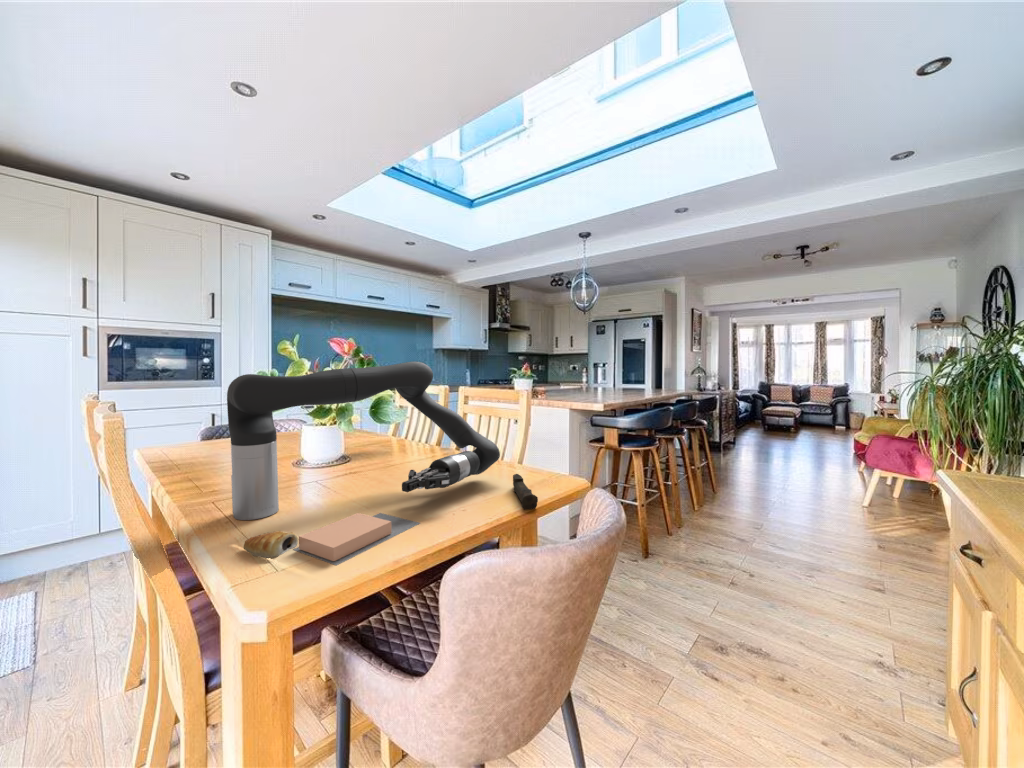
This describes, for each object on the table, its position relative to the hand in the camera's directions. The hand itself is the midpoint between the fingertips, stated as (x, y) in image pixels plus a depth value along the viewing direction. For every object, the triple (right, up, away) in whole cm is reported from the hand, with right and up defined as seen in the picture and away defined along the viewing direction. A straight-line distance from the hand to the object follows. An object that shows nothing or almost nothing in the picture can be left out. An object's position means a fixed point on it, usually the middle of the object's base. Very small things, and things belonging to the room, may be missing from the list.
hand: (404, 487), depth 97 cm
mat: (-6, -8, -10) cm, 14 cm away
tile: (-4, -6, -8) cm, 10 cm away
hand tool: (+27, -7, +15) cm, 32 cm away
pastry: (-21, -8, -17) cm, 28 cm away
